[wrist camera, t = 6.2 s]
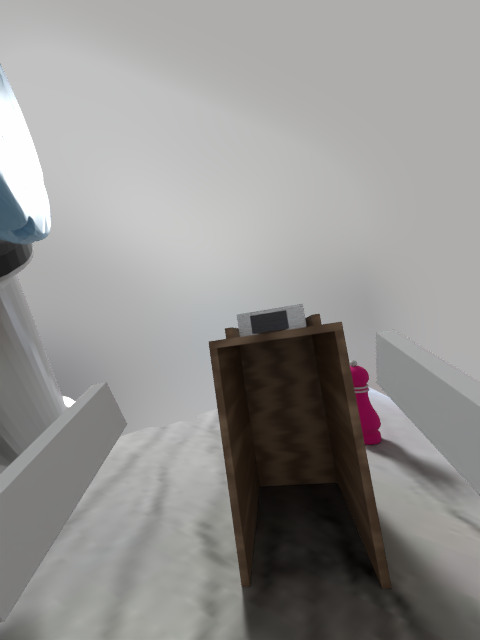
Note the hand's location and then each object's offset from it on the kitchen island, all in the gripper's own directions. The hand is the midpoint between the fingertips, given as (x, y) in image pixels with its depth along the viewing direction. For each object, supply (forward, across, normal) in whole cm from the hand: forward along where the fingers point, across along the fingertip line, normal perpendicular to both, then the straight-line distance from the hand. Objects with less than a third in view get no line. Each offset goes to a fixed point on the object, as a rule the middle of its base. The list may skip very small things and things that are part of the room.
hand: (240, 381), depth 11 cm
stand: (+14, -2, +37) cm, 39 cm away
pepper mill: (+34, -22, +47) cm, 62 cm away
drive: (+21, -3, +7) cm, 22 cm away
